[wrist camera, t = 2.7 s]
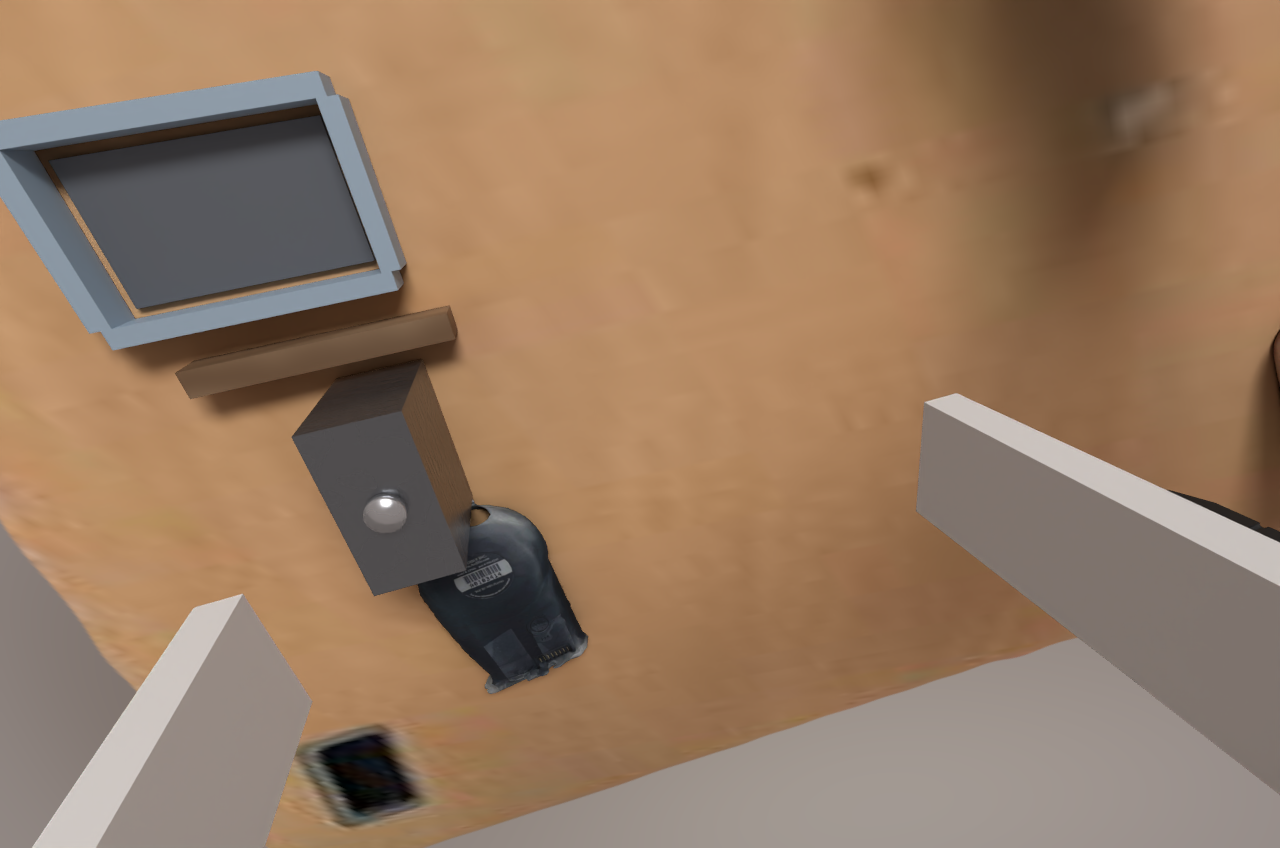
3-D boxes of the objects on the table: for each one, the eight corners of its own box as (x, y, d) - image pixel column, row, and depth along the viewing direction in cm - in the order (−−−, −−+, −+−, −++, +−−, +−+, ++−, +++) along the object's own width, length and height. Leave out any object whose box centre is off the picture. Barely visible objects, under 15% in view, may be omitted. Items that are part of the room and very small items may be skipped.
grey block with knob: (336, 378, 33) (287, 442, 25) (422, 358, 33) (399, 416, 26) (398, 513, 37) (371, 603, 29) (472, 494, 38) (465, 577, 30)
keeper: (-6, 130, 25) (-45, 127, 23) (340, 75, 27) (329, 68, 25) (125, 341, 29) (101, 352, 27) (412, 281, 31) (407, 288, 29)
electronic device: (592, 603, 46) (517, 480, 38) (598, 664, 42) (513, 541, 33) (489, 636, 47) (391, 522, 38) (484, 700, 42) (371, 588, 34)
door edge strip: (193, 361, 30) (174, 373, 29) (449, 305, 32) (446, 313, 30) (207, 385, 31) (190, 399, 29) (457, 330, 33) (455, 339, 31)
